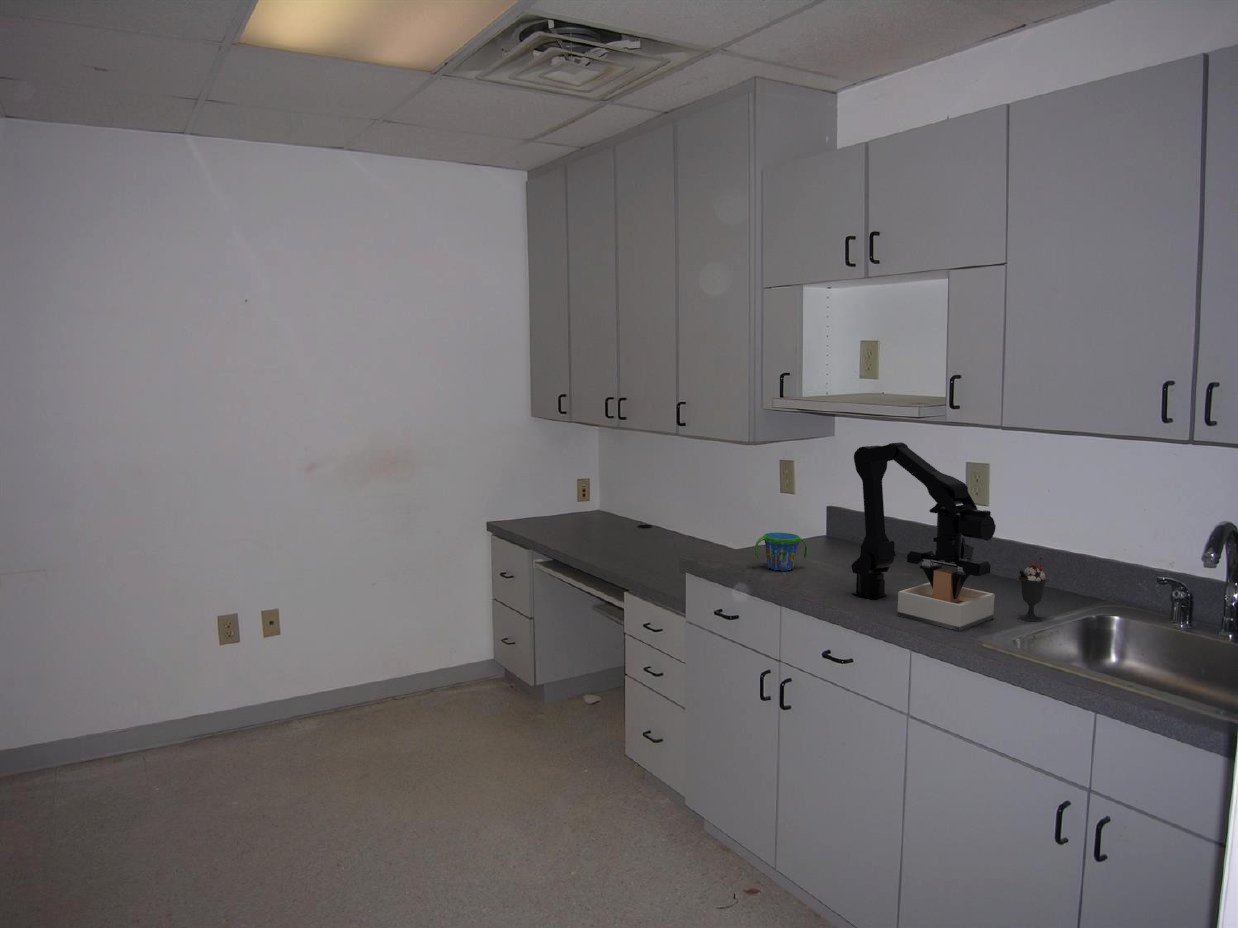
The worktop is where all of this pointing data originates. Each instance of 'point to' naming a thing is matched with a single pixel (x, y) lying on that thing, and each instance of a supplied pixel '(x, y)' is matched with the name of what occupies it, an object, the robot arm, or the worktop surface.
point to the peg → (944, 585)
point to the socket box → (946, 607)
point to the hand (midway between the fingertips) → (946, 596)
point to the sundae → (1032, 589)
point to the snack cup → (781, 550)
